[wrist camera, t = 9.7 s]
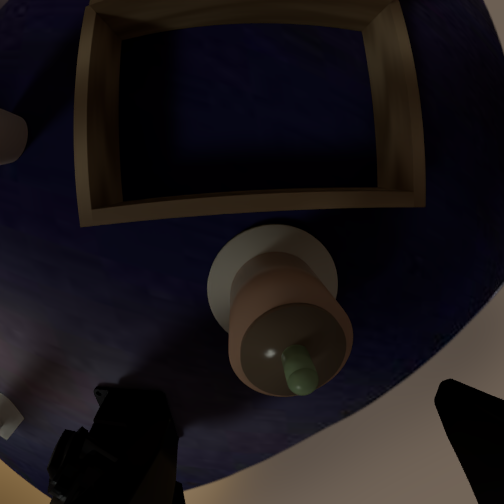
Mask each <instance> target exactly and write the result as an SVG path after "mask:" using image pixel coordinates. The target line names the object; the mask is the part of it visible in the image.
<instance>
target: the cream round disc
mask: <svg viewBox="0 0 504 504" xmlns="http://www.w3.org/2000/svg"><path fill="white" fill-rule="evenodd" d="M267 252H286V253H289V254H292V255H295V256H297V257H298V258H300V259H302V260H303V261H304V262H305V263H306V264H307V265H308V266H309V267H310V268H311V269H312V271H313V272H314V273H315V274H316V276H317V277H318V278H319V279H320V281H321V282H322V283H323V284H324V286H325V287H326V288H327V289H328V291H329V292H330V293H331V294H332V296H333V297H334V298H335V300H336V296H337V289H338V277H337V271H336V267H335V264H334V262H333V259H332V257H331V255H330V254H329V252H328V251H327V249H326V248H325V247H324V246H323V245H322V244H321V242H319V241H318V240H317V239H316V238H315V237H313V236H312V235H311V234H309V233H307V232H306V231H304V230H302V229H299V228H297V227H294V226H291V225H286V224H263V225H258V226H255V227H252V228H249V229H247V230H244V231H243V232H241V233H239V234H237V235H236V236H235V237H233V238H232V239H231V240H229V241H228V242H227V243H226V244H225V245H224V246H223V248H222V249H221V250H220V251H219V253H218V254H217V256H216V258H215V260H214V262H213V264H212V267H211V270H210V274H209V278H208V285H207V293H208V300H209V305H210V308H211V311H212V313H213V315H214V317H215V319H216V320H217V321H218V323H219V324H220V325H221V327H222V328H223V329H224V330H225V331H226V332H228V333H229V313H230V290H231V285H232V281H233V279H234V277H235V275H236V273H237V272H238V270H239V269H240V268H241V267H242V266H243V265H244V264H245V263H246V262H247V261H249V260H250V259H252V258H253V257H255V256H257V255H260V254H263V253H267Z"/></svg>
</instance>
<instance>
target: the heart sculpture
mask: <svg viewBox="0 0 504 504" xmlns="http://www.w3.org/2000/svg"><path fill="white" fill-rule="evenodd" d="M23 420H24V418H23V416H22V415H21V413H20V412H19V411H18V409H17V408H16V407H15V405H14V404H13V403H12V402H11V401H10V400H9V399H8V398H7V397H5V396H4V395H3V394H1V393H0V436H1V437H3V438H4V439H6V440H7V439H8V438H9V437H10V436H11V434H12V433H13V432H14V431H15V429H16V428H17V427H18V426H19V424H20V423H21V422H22V421H23Z"/></svg>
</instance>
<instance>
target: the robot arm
mask: <svg viewBox="0 0 504 504" xmlns="http://www.w3.org/2000/svg"><path fill="white" fill-rule="evenodd" d="M94 394H95V397H96V399H97V401H98V404H99V406H100V408H99V410H98V412H97V414H96V416H95V418H94V420H93V421H94V423H93V426H92V428H91V430H90V432H88V430H86V429H85V428H84V427H81V428H80V429H79V430H78V431H77V432H75V431H71V430H67V429H65V431H64V432H63V433H62V435H61V437H60V439H59V441H58V443H57V444H56V446H55V448H54V451H53V453H52V456H51V458H50V461H49V464H48V467H47V471H48V473H49V476H50V478H49V486H48V493H49V494H51V495H52V496H53V498H52V500H51V502H50V504H185V499H184V493H183V488H182V483H179V482H177V481H176V468H177V449H178V441H179V437H178V434H177V431H176V428H175V425H174V422H173V419H172V416H171V413H170V409H169V406H168V403H167V399H166V396H165V394H164V393H163V392H161V391H151V390H133V389H120V388H109V387H99V386H98V387H96V388H95V389H94ZM157 396H159V397H157ZM160 397H161V398H160ZM434 402H435V406H436V409H437V411H438V414H439V416H440V419H441V421H442V424H443V427H444V429H445V432H446V434H447V436H448V439H449V441H450V443H451V445H452V447H453V449H454V451H455V453H456V455H457V457H458V459H459V461H460V463H461V466H462V468H463V470H464V472H465V474H466V476H467V479H468V481H469V483H470V485H471V487H472V490H473V492H474V495H475V497H476V499H477V502H478V504H504V400H502V399H500V398H497V397H495V396H492V395H490V394H487V393H485V392H482V391H480V390H477V389H475V388H473V387H470V386H468V385H465V384H463V383H461V382H458V381H456V380H453V379H447V380H444V381H442V382H441V383H440V385H439V388H438V391H437V393H436V396H435V399H434Z"/></svg>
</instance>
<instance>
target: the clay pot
mask: <svg viewBox="0 0 504 504" xmlns="http://www.w3.org/2000/svg"><path fill="white" fill-rule="evenodd" d="M352 344H353V330H352V325H351V322H350V320H349V318H348V316H347V314H346V313H345V311H344V310H343V308H342V307H341V306H340V305H339V303H338V302H337V301H336V300H335V298H334V297H333V296H332V294H331V293H330V292H329V291H328V289H327V288H326V287H325V286H324V284H323V283H322V282H321V281H320V279H319V278H318V277H317V276H316V274H315V273H314V272H313V271H312V269H311V268H310V267H309V266H308V265H307V264H306V263H305V262H304V261H303V260H302V259H300V258H298V257H297V256H295V255H292V254H289V253H286V252H267V253H263V254H260V255H257V256H255V257H253V258H252V259H250V260H249V261H247V262H246V263H245V264H244V265H243V266H242V267H241V268H240V269H239V270H238V272H237V273H236V275H235V277H234V279H233V281H232V285H231V290H230V313H229V359H230V363H231V366H232V368H233V370H234V372H235V374H236V375H237V376H238V378H239V379H240V380H241V381H242V382H243V383H244V384H246V385H247V386H248V387H250V388H252V389H253V390H255V391H257V392H260V393H263V394H266V395H271V396H279V397H287V396H296V395H302V396H304V395H308V394H310V393H312V392H313V391H314V390H315V389H317V388H319V387H321V386H323V385H324V384H326V383H327V382H328V381H330V380H331V379H332V378H333V377H334V376H335V375H336V374H337V373H338V372H339V371H340V370H341V369H342V367H343V366H344V364H345V363H346V361H347V359H348V357H349V355H350V352H351V349H352Z"/></svg>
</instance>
